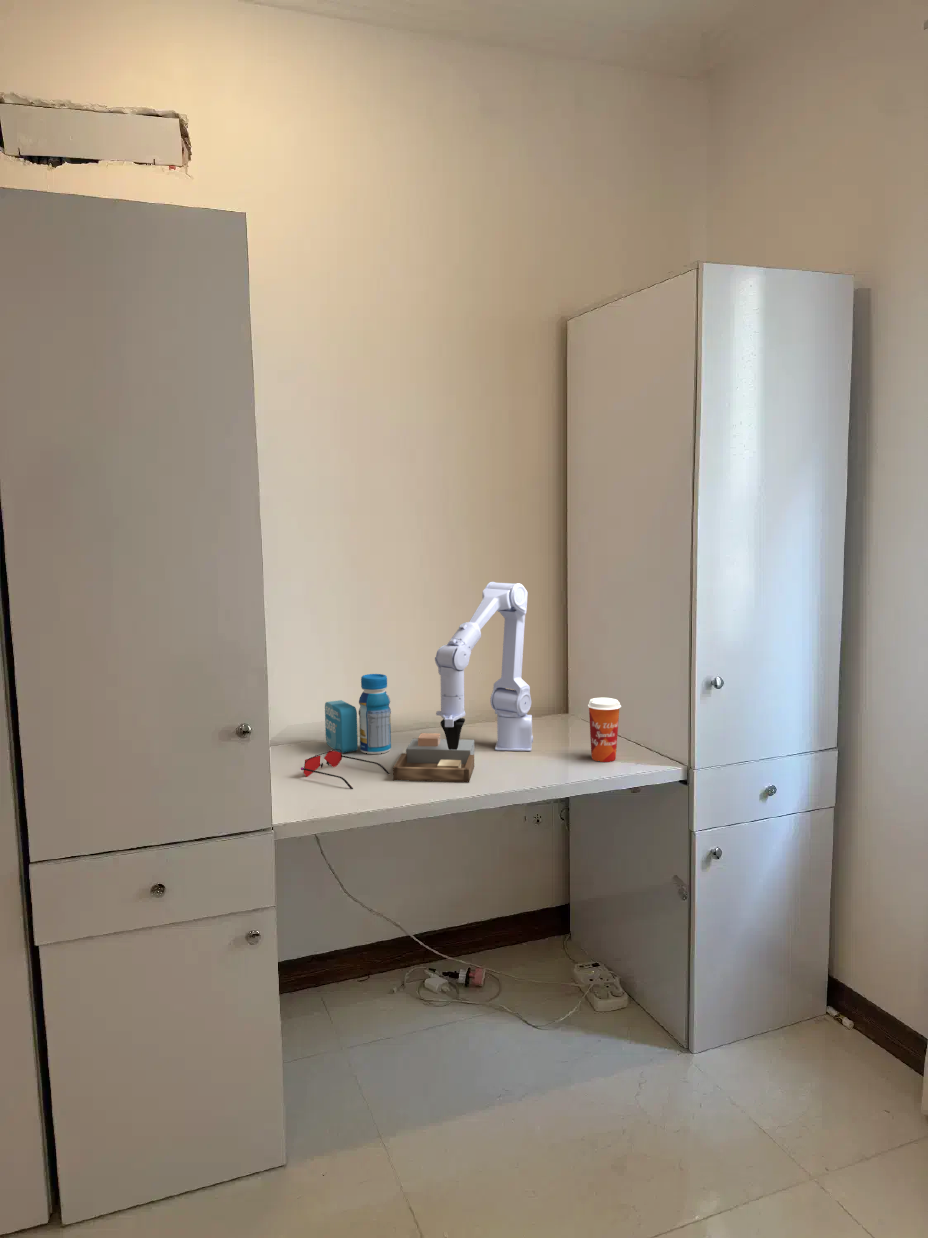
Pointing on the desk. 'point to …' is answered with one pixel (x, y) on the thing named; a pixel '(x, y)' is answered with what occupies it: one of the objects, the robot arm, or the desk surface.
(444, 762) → the ash tile
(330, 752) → the glasses
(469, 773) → the walnut box
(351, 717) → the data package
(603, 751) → the coffee cup
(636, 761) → the desk surface
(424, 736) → the terracotta tile
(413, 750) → the slate slab
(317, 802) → the desk surface
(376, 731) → the beverage bottle
